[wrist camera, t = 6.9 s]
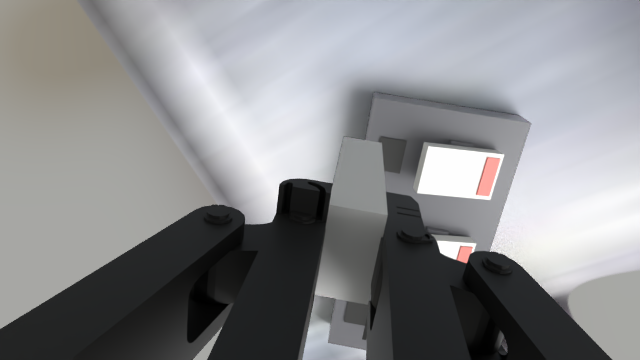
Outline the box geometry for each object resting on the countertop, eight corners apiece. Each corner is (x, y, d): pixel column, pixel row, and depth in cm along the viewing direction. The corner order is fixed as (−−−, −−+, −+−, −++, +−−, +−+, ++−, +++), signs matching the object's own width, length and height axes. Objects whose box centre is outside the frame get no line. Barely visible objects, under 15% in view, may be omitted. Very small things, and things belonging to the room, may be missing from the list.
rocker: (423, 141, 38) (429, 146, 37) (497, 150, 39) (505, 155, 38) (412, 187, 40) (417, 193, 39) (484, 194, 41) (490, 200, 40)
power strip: (373, 92, 42) (373, 99, 39) (519, 115, 41) (533, 125, 38) (330, 324, 52) (327, 346, 49) (447, 346, 52) (452, 370, 48)
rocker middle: (402, 232, 42) (406, 239, 40) (470, 237, 43) (477, 244, 41) (393, 271, 43) (397, 279, 42) (459, 274, 44) (464, 283, 43)
